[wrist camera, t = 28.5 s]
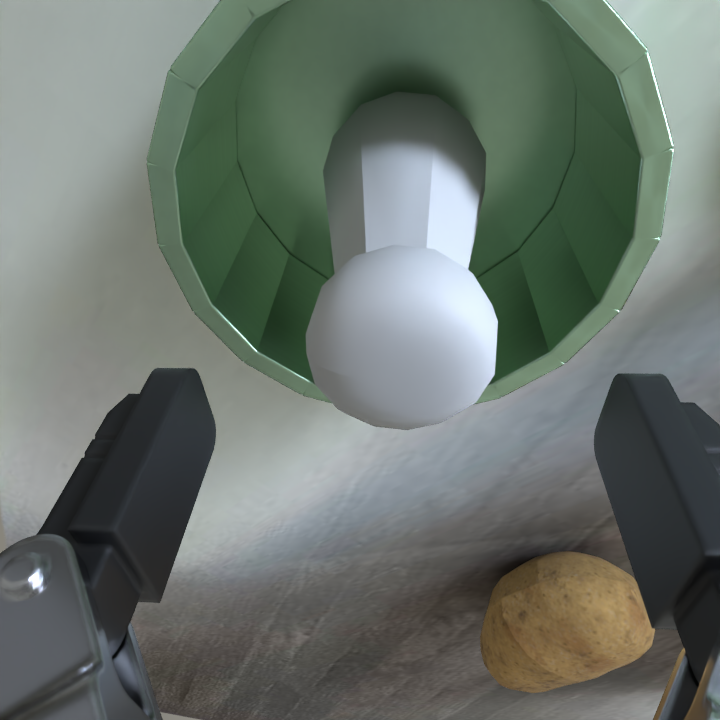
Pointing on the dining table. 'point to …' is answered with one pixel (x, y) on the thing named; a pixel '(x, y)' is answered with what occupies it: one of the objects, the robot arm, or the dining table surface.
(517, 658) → the potato
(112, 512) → the robot arm
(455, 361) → the salt shaker
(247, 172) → the pot
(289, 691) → the dining table surface
